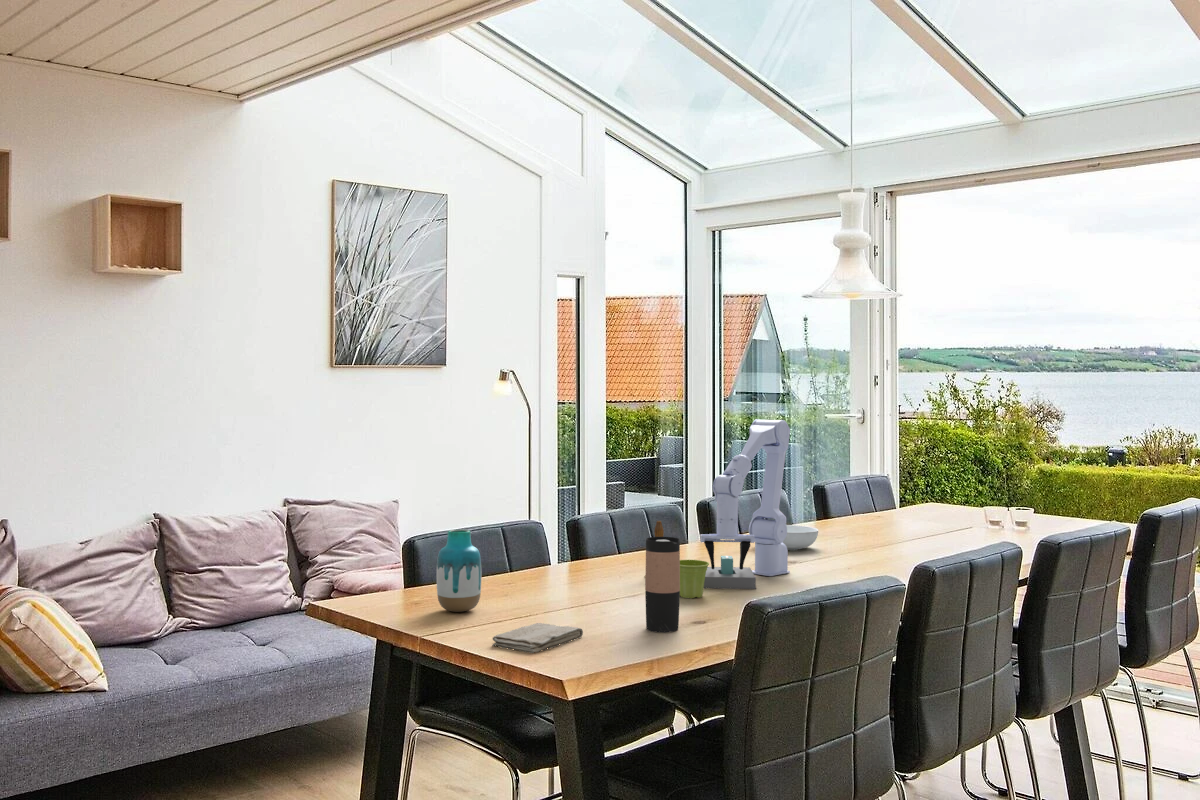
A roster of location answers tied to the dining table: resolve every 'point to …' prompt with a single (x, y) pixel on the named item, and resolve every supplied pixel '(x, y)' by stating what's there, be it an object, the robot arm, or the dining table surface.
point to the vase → (458, 573)
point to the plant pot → (692, 578)
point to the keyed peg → (726, 565)
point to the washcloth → (537, 637)
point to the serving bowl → (799, 537)
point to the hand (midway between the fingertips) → (727, 568)
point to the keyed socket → (730, 578)
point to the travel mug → (662, 584)
